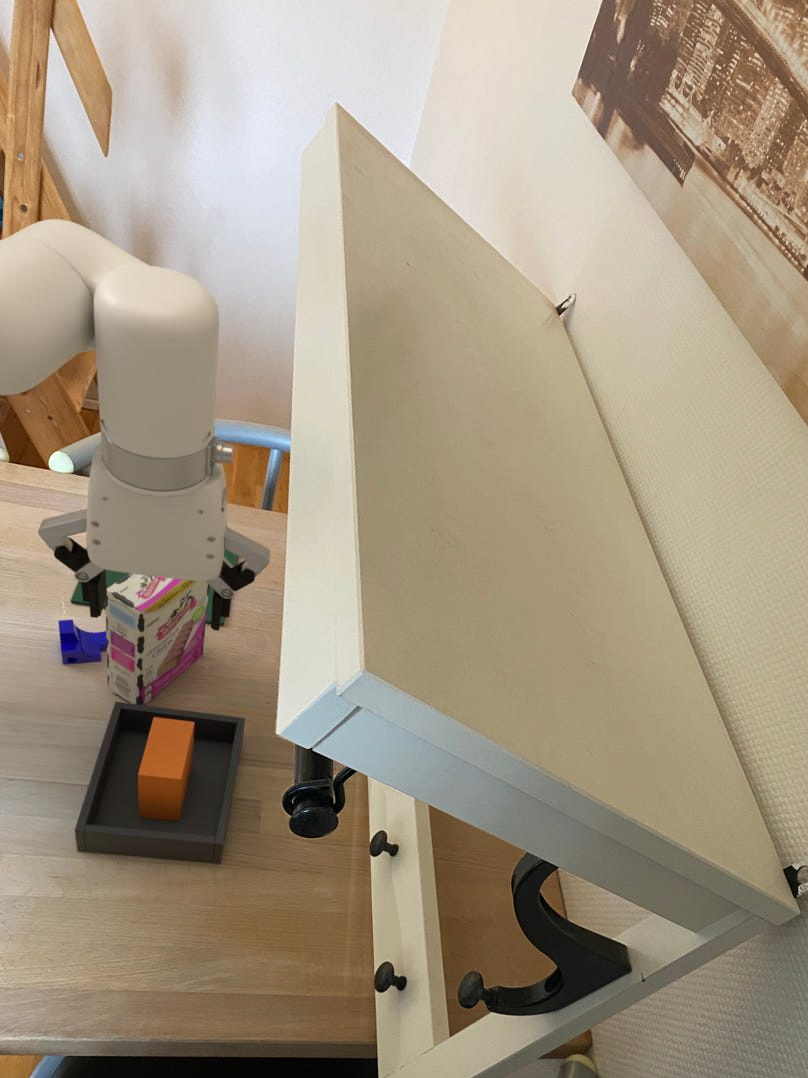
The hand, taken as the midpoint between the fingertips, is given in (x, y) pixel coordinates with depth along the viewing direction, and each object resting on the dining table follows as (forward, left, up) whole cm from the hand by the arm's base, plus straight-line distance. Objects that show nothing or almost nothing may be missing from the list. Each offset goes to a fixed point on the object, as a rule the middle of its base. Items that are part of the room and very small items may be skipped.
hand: (158, 612), depth 73 cm
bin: (+1, -2, -26) cm, 26 cm away
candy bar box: (-3, +14, -26) cm, 29 cm away
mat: (-6, +30, -26) cm, 40 cm away
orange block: (+1, -2, -25) cm, 25 cm away
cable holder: (-10, +16, -26) cm, 32 cm away
